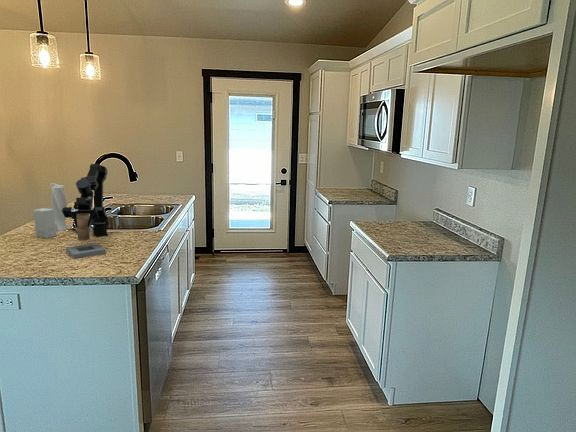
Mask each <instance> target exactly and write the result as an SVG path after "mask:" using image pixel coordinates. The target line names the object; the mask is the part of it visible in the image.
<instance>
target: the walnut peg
mask: <svg viewBox="0 0 576 432" xmlns="http://www.w3.org/2000/svg"><path fill="white" fill-rule="evenodd" d="M76 216H77V230H78V231H77V240H78V241H81V242H82V241H88V240H90V230H89V227H88V215H87V214H80V215H76Z"/></svg>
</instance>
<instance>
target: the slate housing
mask: <svg viewBox="0 0 576 432" xmlns="http://www.w3.org/2000/svg"><path fill="white" fill-rule="evenodd" d="M65 250H66V253H67V254H68V255H69V256H70V257H71V258H72V259H73V260H75V259H80V258H88V257H93V256H94V257H95V256H101V255H105V254H106V249H105V248H103V247H102V246H101V245H99V244H98V243H95V242H94V243H87V244H81V245H74V246H67V247H66V248H65Z"/></svg>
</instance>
